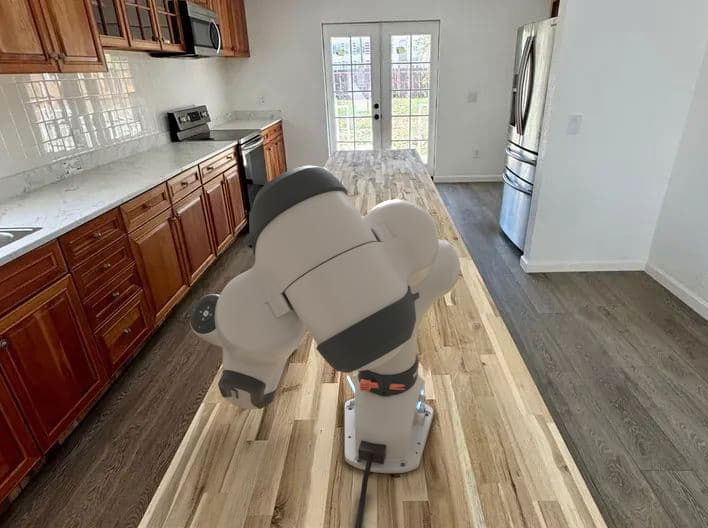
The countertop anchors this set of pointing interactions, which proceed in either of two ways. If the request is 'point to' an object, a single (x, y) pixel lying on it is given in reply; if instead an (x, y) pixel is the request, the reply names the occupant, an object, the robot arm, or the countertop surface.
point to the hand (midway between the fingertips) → (264, 342)
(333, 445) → the countertop surface
